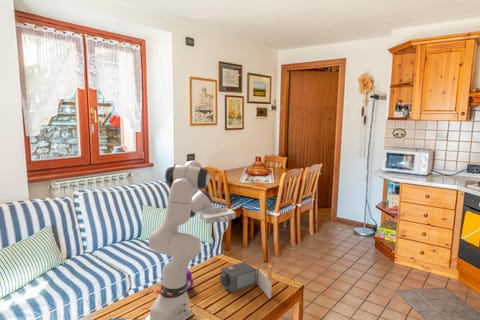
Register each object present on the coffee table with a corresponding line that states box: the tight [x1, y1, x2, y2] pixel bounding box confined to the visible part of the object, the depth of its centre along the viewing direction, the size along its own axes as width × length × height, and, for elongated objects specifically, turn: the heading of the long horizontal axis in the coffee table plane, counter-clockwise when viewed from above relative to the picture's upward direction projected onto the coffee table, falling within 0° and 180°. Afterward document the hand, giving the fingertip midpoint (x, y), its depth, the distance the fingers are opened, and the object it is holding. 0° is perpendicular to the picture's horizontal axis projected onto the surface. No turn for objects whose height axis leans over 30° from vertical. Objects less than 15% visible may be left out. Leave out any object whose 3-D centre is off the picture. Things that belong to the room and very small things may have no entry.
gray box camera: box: [219, 261, 257, 293], centre depth 180 cm, size 11×18×10 cm, turn 125°
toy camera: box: [186, 268, 194, 292], centre depth 175 cm, size 11×14×10 cm
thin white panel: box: [255, 264, 273, 299], centre depth 174 cm, size 2×16×17 cm, turn 21°
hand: (226, 220), depth 184 cm, fingers closed
